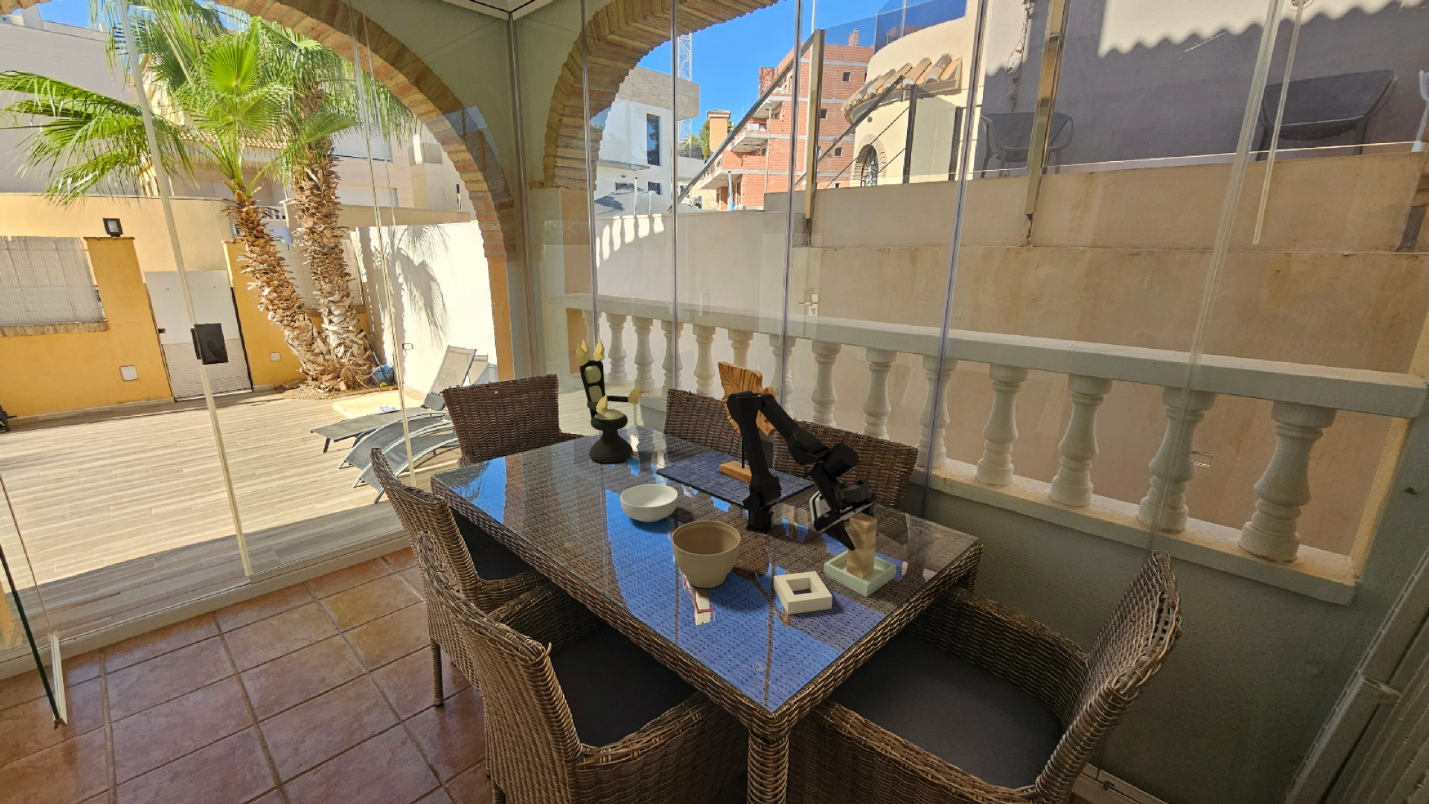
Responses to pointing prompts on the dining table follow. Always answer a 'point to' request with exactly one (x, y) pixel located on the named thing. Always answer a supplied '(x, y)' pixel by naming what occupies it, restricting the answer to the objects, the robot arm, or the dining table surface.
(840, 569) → the tray
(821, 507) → the white napkin holder
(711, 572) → the planter bowl
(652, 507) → the cereal bowl
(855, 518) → the wooden block
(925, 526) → the dining table surface
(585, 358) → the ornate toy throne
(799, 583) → the block
